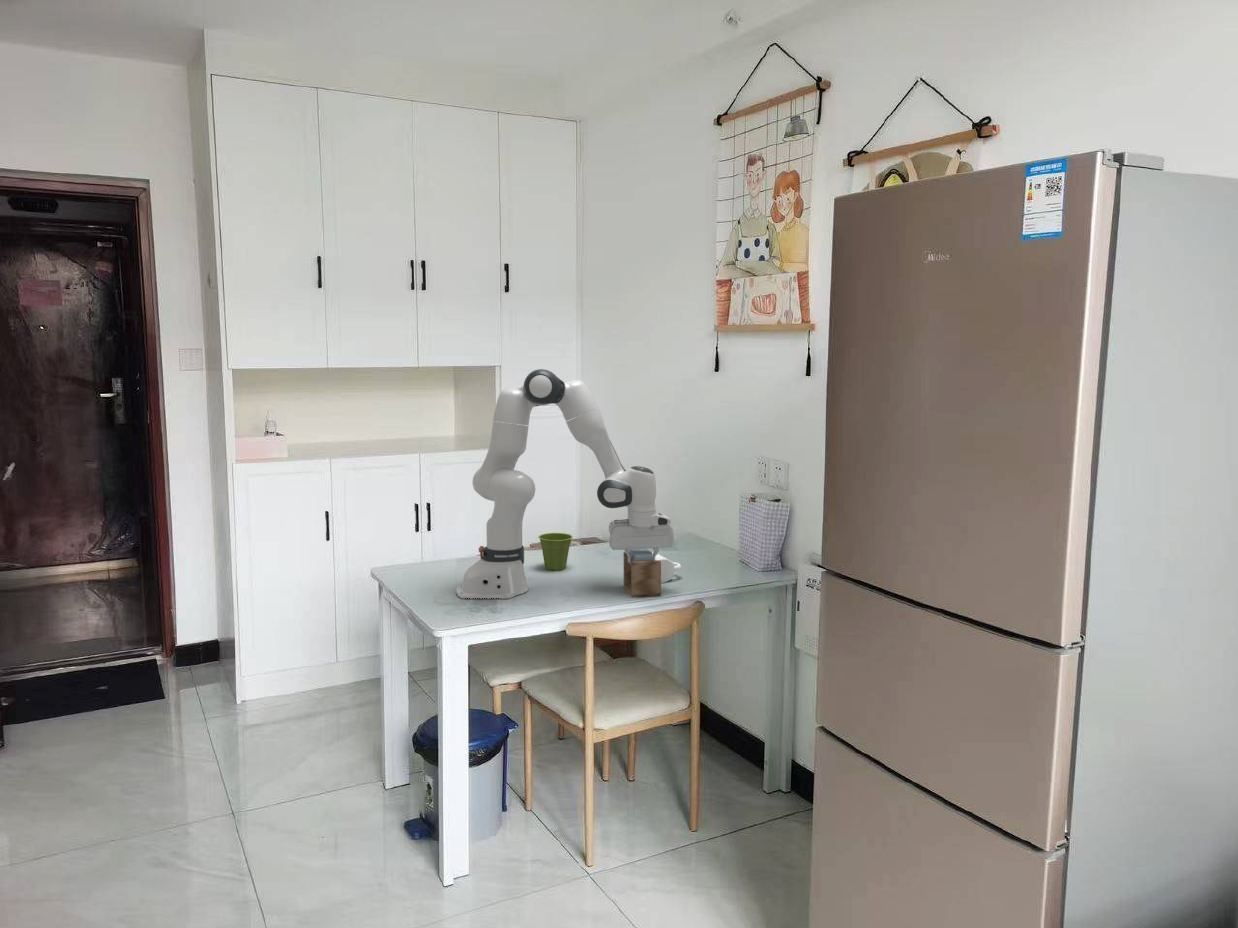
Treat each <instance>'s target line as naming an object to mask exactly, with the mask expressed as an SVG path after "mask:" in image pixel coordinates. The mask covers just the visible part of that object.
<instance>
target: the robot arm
mask: <svg viewBox="0 0 1238 928" xmlns="http://www.w3.org/2000/svg"><path fill="white" fill-rule="evenodd" d="M498 394H499V395H498V398H497V401H496V404H495V409H494V413H493V420H492V427H491V436H490V441H489V442H490V443H489V447H488V450H487V453H486V455H485V457H484V461H483V463H482V464H481V466H480V468H479V469H478V470H477V471H476V472H475V473H474V475H473V477H472V488H473V490H474V491H475V492H476V493H477V494H478V495H479V496H480V497H482V498H483V499H484V500H485V499H486V500H488V501H492V502H494V503H493V504H494V507H493V511H492V515H491V517H490V518H489V519H488V520H487V521H486V525H485V526H486V546H484V545H480V546H479V547H478V552H479V553H480V559H478V560H477V561H476V562H475V563H474V564H473V565H472V566H470V567H469V568H468V569H467V570H466V571H465V573H464V575H463V578H462V584H459V585H458V586H456V590H455V594H457V595H456V596H457V597H458V598H460V599H463V600H464V599H465V598H466V599H467V598H468V599H469V598H470V599H473V598H474V599H473V600H475V598H476V600H478V599H479V598H480V599H482V598H483V599H484V598H485V599H486V598H487V600H488V599H491V598H492V599H493V598H494V599H496V598H497V599H498V598H499V599H503V600H504V599H505V600H506V599H511V598H514V597H515V596H519V595H522V594H525V593H527V592H528V591H529V587H528V583H527V580H526V576H525V575H526V574H525V567H524V563H525V549H524V545H523V521H524V516H525V512H526V509H527V507H528V505H529V503H530V502H531V501H532V500H533V499H534V497H535V493H536V483H535V482H534V480H533V478H532V477H531V476H529V475H527V474H526V473H524V472H523V471H520V470H518V469H517V470H516V469H515V467H516V465H517V462H518V460H519V458H520V457H521V456H522V455H523V454H524V453H525V452H526V450H527V442H528V441H527V440H528V435H529V434H528V433H529V424H530V416H531V414H532V410H533V408H534V407H535V408H536V407H541V406H548V405H550V404H551V405H552V404H553V405H555V406H557V407H558V408H559V410H560V411H561V413H562V416H563V418H564V420H565V424H566V425H567V428H568V429H569V432H570V433H571V435H572V436H573V438H574V439H575V440H576V441H577V442H578V443H580V444H583V445H585V446H586V447H588V448H589V449H590V450H591V451H592V452H593V454H594V455H595V457H596V459H597V462H598V463H599V465H600V468H601V470H602V472H603V475H604V480H603V481H602V482H601V483H600V484H599V486H598V488H597V490H596V494H597V495H596V496H597V499H598V501H599V503H600V504H601V505H603V507H605V508H608V509H617V508H624V507H627V519H626V518H625V519H614V520H613V521H611V522H610V523H609V525H608V532H609V534H610V535H609V541H608V542H609V544H608V545H609V547H610V548H611V549H612V550H613V551H618V550H619V551H621V550H622V551H623V550H624V552H625V553H626V555H627V556H628V563H631V562H633V560H634V558H633V556H630V555H629V553H630V549H645V548H647V549H652V550H653V551H652V552H653V554H652V555H653V556H654V560H655V557H656V555H657V554H659V552H660V549H665V548H673V546H674V545H675V537H674V536H675V535H674V533H675V532H674V529H673V527H672V526H671V523H672V519H671V518H670V517H669V516H667V515H666V514H663V513H660V512H657V508H656V507H657V506H656V497H657V482H656V481H657V480H656V477H655V473H654V471H652V470H651V469H650V468H648V467H644V466H641V465H639V466H636V465H633V466H630V467H629V468H628V469H625V467H624V465H622V462H621V460H620V458H619V456H618V454H617V451H616V450H615V448H614V446H613V443H612V442H611V439H610V436H609V434H608V431H607V427H606V425H605V422H604V419H603V416H602V412H601V410H600V408H599V406H598V404H597V403H598V402H597V401H596V399H595V397H594V396H593V394H592V391H590V389H589V387H588V386H587V384H586V383H585V382H584V381H582V380H579V379H572V380H569V381H565V382H564V381H563V380H562V379H561V378H559V377H558V376H557V375H556V374H555V373H554V372H553V371H551V370H548V369H543V368H541V369H535V370H533V371H531V372H530V373H528V374H527V375H526V377H525V379H524V382H523V385H522V386H520V387H507V388H504V389H503V390H502V391H501V392H500V393H498ZM628 552H629V553H628ZM477 598H478V599H477ZM466 599H465V600H466ZM468 599H467V600H468ZM470 599H469V600H470ZM497 599H496V600H497ZM499 599H498V600H499Z"/></svg>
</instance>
